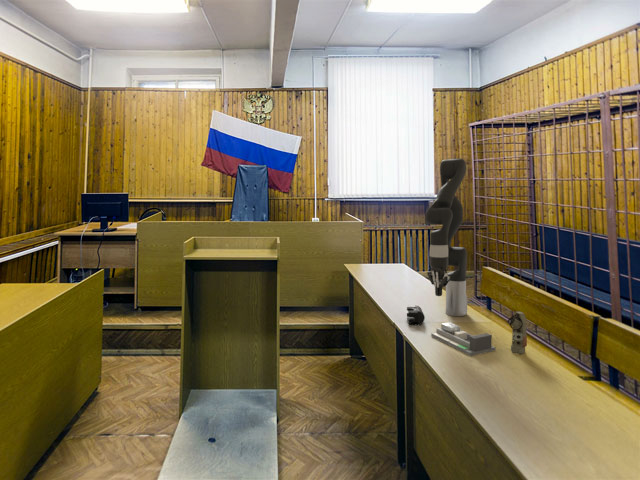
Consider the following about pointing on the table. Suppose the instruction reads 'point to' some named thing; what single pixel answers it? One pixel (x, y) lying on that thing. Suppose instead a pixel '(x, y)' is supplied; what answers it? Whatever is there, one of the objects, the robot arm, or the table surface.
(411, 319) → the end cap
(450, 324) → the grey textured block
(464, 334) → the white upright block
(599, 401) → the table surface
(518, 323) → the grenade model
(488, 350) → the gauge board
